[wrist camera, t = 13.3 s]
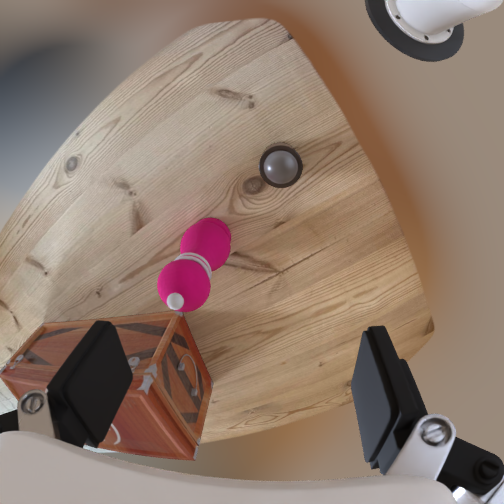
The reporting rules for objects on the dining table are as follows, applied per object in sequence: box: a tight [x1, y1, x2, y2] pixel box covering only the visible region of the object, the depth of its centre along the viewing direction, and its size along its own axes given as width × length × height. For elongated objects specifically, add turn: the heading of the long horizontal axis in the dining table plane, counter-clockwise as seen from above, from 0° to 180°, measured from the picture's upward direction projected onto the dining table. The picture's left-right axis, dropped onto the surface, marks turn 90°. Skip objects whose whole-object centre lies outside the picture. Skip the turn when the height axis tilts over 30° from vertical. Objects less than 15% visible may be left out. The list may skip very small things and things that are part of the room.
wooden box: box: [0, 310, 213, 461], centre depth 52 cm, size 20×41×20 cm, turn 103°
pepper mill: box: [157, 218, 231, 312], centre depth 39 cm, size 7×7×20 cm
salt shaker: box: [259, 142, 303, 188], centre depth 38 cm, size 5×5×10 cm
